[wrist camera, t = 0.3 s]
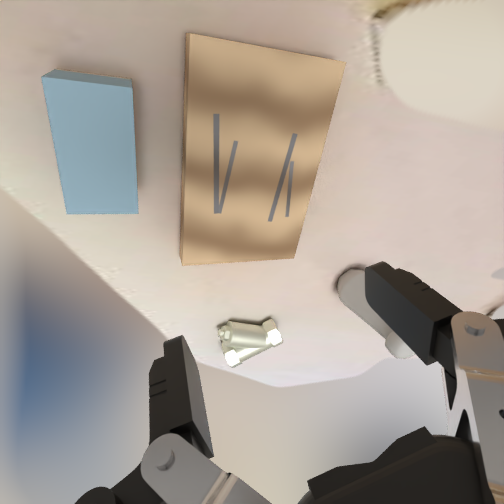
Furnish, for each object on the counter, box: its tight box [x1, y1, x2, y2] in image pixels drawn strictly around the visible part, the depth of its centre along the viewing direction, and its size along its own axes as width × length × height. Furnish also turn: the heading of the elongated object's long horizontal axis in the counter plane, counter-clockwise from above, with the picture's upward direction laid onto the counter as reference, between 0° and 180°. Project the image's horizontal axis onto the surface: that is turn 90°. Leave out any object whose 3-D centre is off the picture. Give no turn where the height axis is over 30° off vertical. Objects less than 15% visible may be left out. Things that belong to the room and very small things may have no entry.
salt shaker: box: [337, 269, 415, 359], centre depth 40 cm, size 6×6×13 cm
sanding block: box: [41, 69, 139, 214], centre depth 23 cm, size 9×5×5 cm, turn 171°
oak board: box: [180, 33, 346, 266], centre depth 30 cm, size 20×13×2 cm, turn 172°
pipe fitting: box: [218, 319, 283, 368], centre depth 43 cm, size 8×4×7 cm
